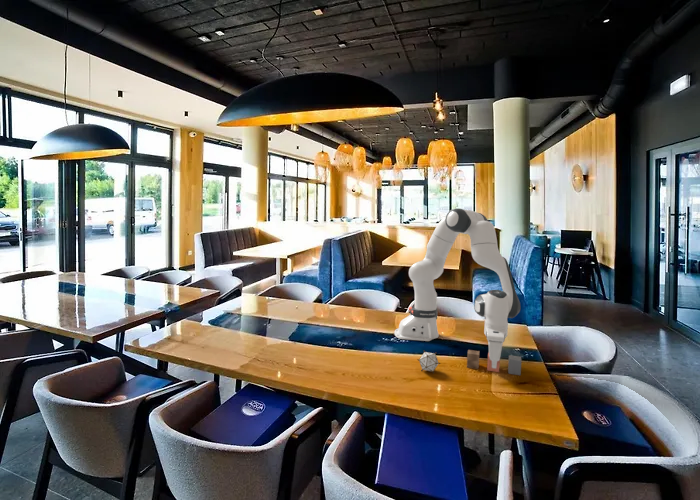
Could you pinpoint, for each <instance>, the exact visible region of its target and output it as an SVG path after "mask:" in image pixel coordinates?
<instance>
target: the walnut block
mask: <svg viewBox="0 0 700 500" xmlns="http://www.w3.org/2000/svg"><path fill="white" fill-rule="evenodd" d="M466 357H467V358H466V368H469V369H476V370H478V369H479V366H480V364H479V363H480V350H473V349H468V350H467V356H466Z"/></svg>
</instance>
